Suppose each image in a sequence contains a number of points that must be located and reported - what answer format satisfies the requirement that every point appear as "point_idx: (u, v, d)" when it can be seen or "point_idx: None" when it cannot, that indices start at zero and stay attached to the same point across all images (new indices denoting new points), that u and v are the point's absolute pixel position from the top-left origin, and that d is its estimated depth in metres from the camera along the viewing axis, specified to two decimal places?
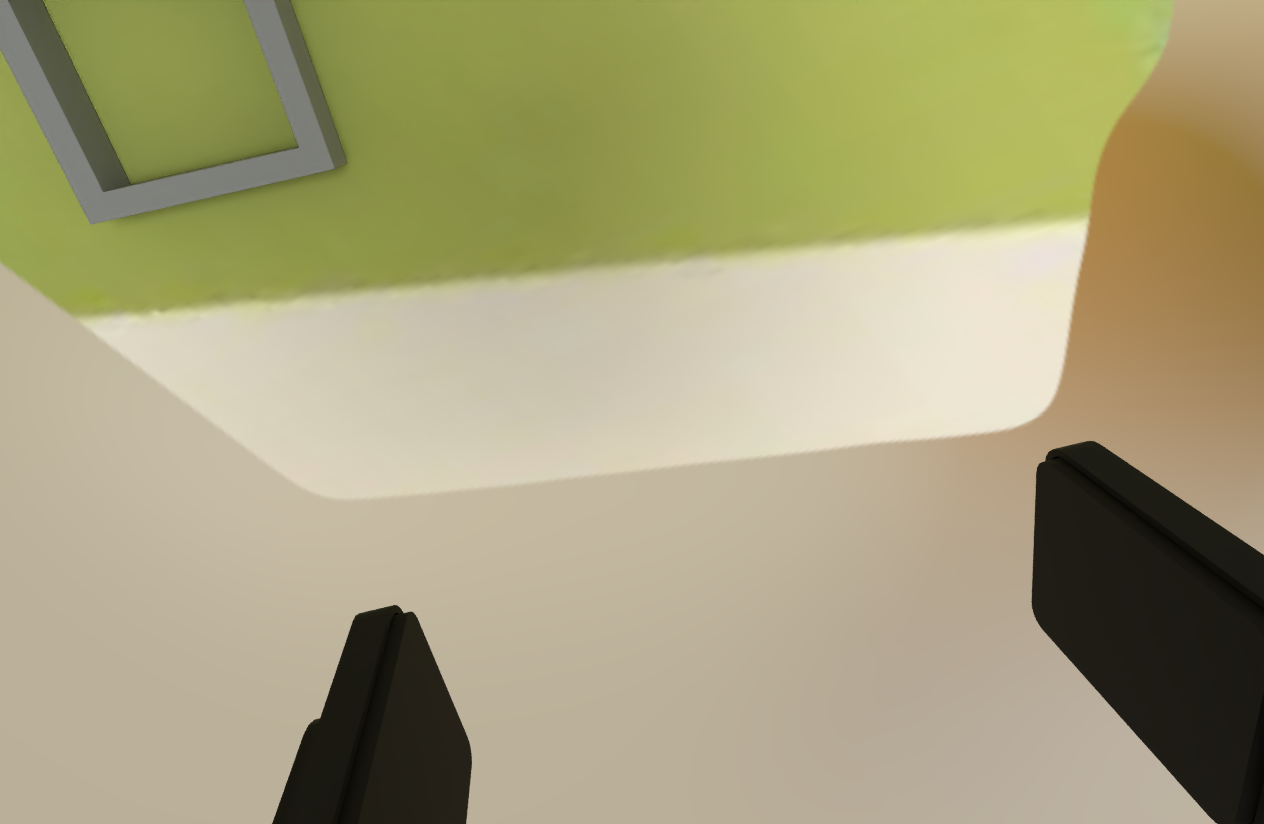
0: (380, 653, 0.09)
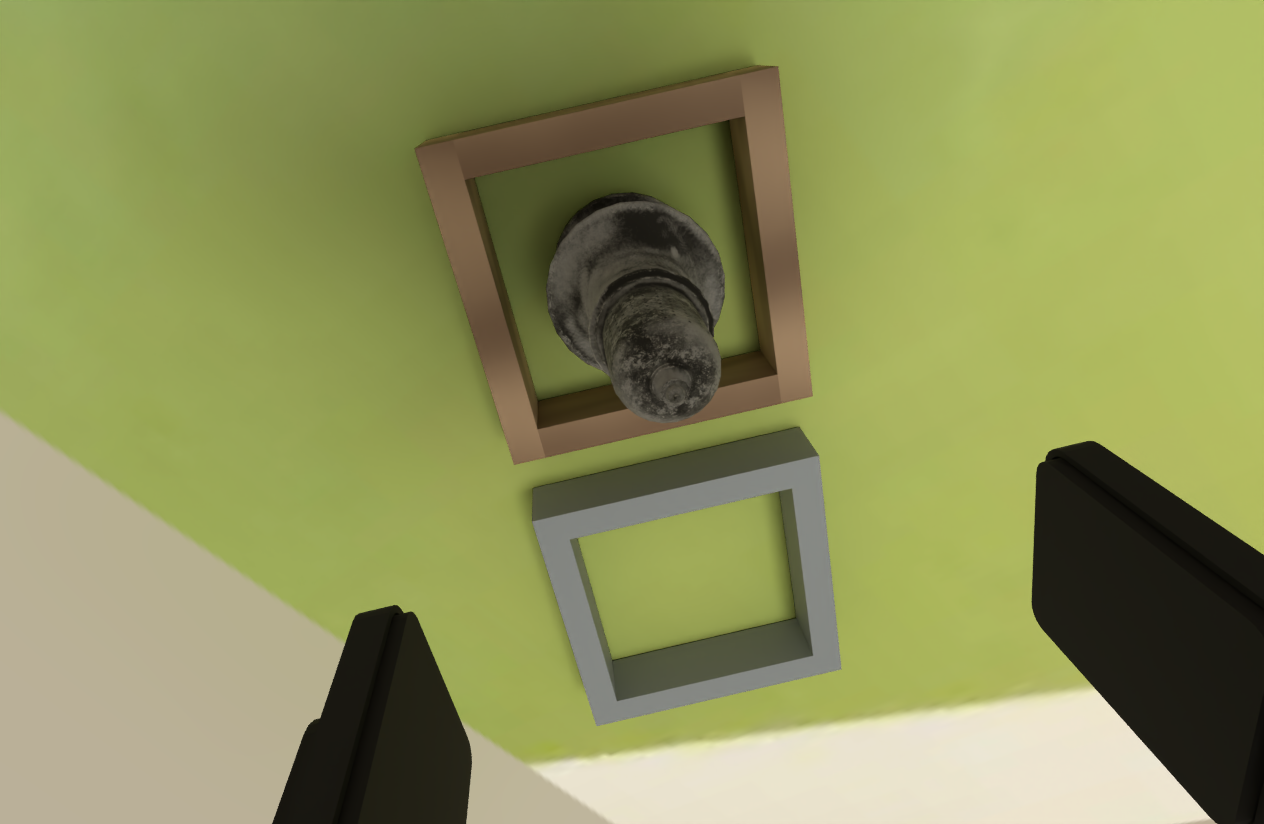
0: (380, 653, 0.09)
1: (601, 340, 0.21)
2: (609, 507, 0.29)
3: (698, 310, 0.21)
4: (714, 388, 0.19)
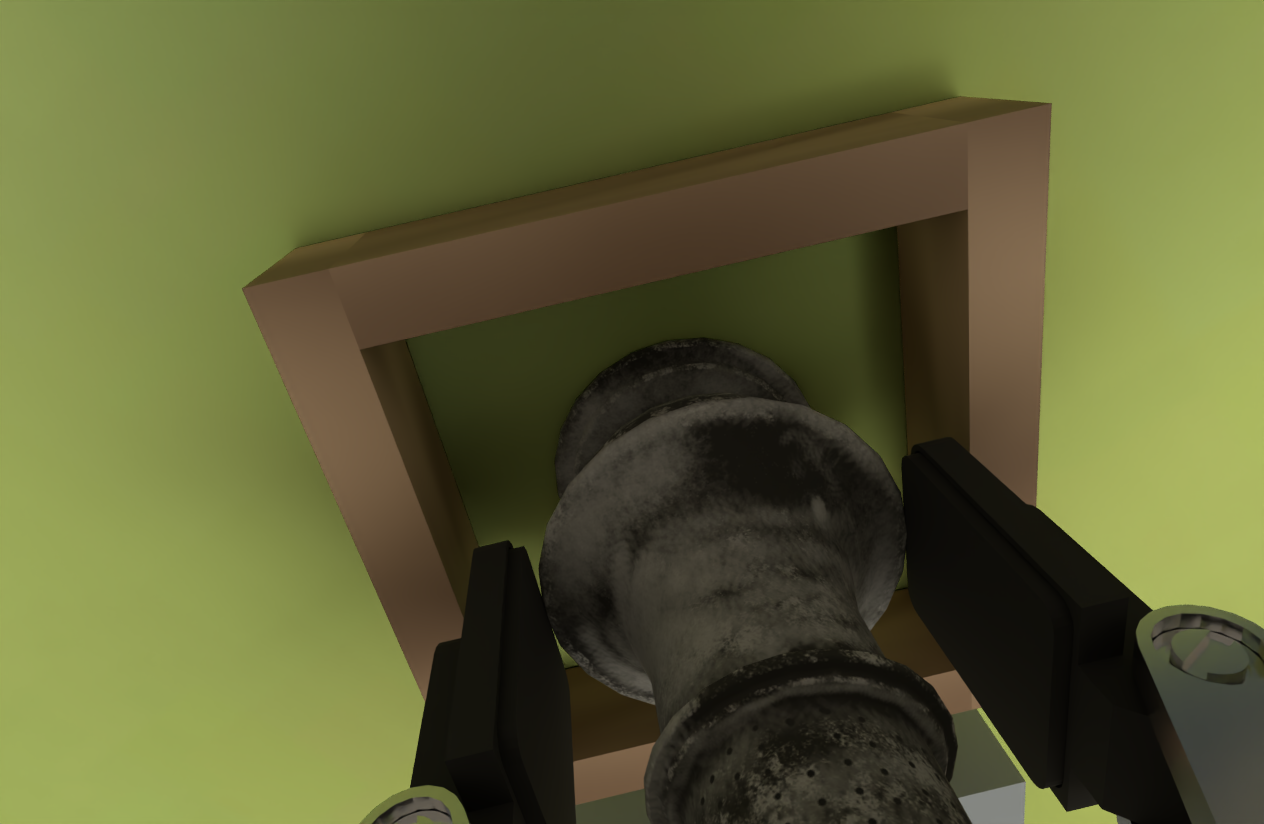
0: (505, 579, 0.10)
1: (678, 816, 0.08)
2: None
3: (930, 743, 0.08)
4: None
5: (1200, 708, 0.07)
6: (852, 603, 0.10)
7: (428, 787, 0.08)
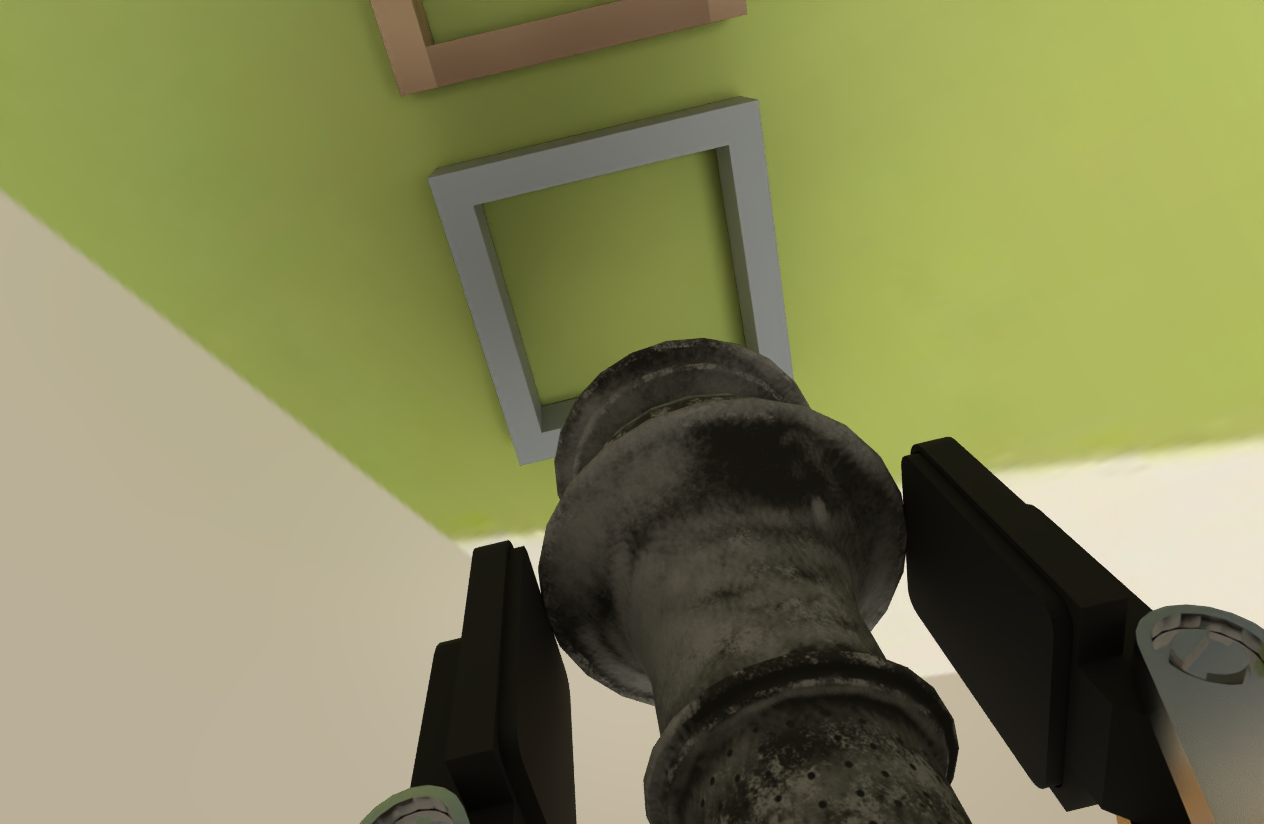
0: (505, 578, 0.10)
1: (678, 818, 0.08)
2: (516, 162, 0.25)
3: (931, 745, 0.08)
4: None
5: (1200, 708, 0.07)
6: (852, 604, 0.10)
7: (428, 787, 0.08)
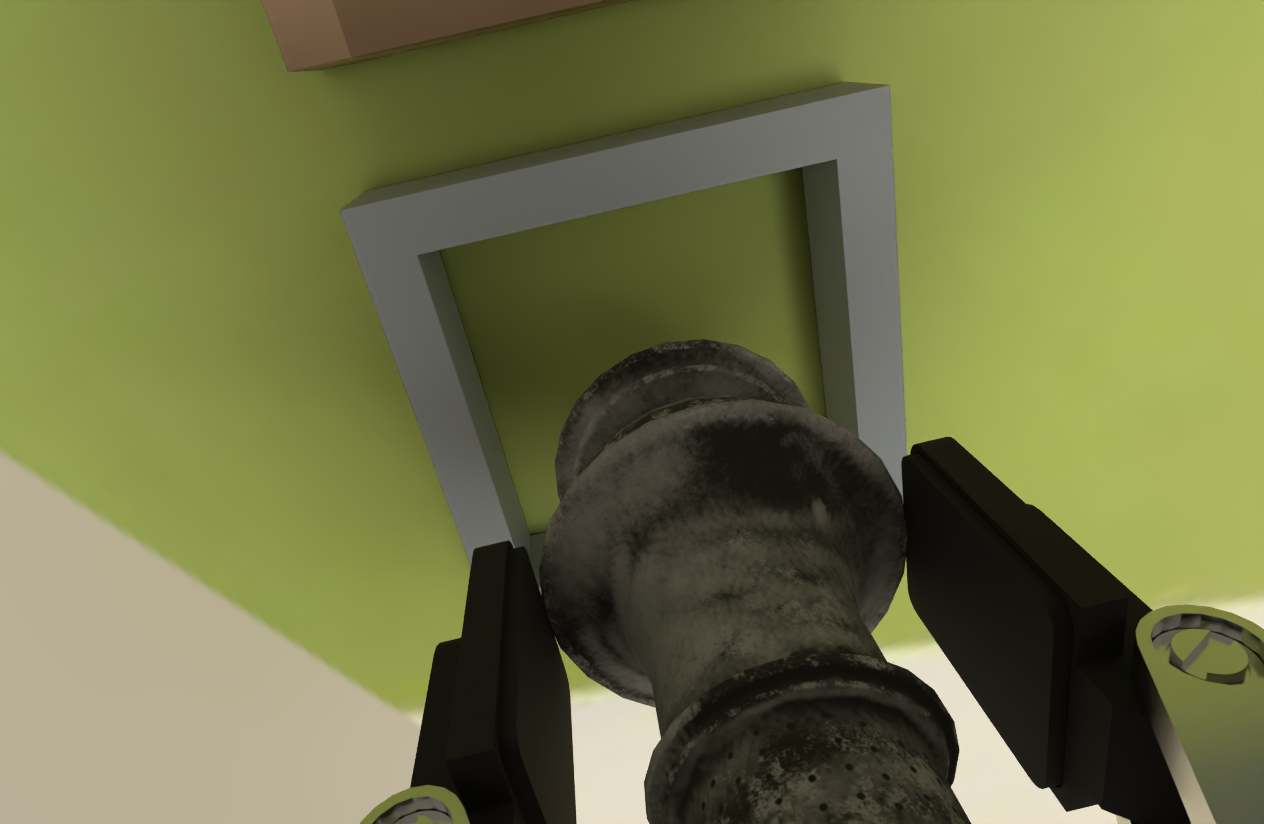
0: (505, 578, 0.10)
1: (679, 820, 0.08)
2: (488, 185, 0.15)
3: (932, 747, 0.08)
4: None
5: (1200, 708, 0.07)
6: (853, 606, 0.10)
7: (428, 787, 0.08)
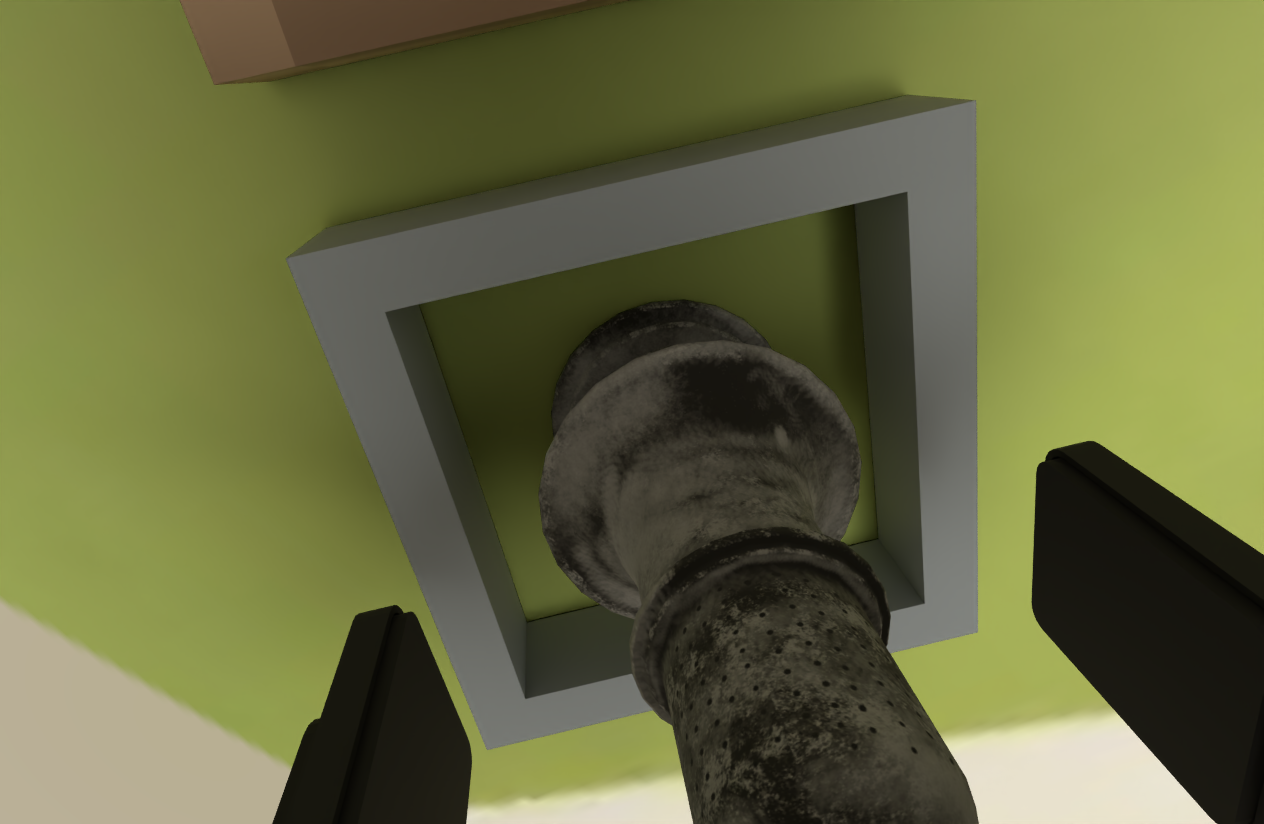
0: (380, 653, 0.09)
1: (658, 671, 0.10)
2: (473, 227, 0.12)
3: (866, 608, 0.10)
4: None
5: None
6: (807, 508, 0.11)
7: None
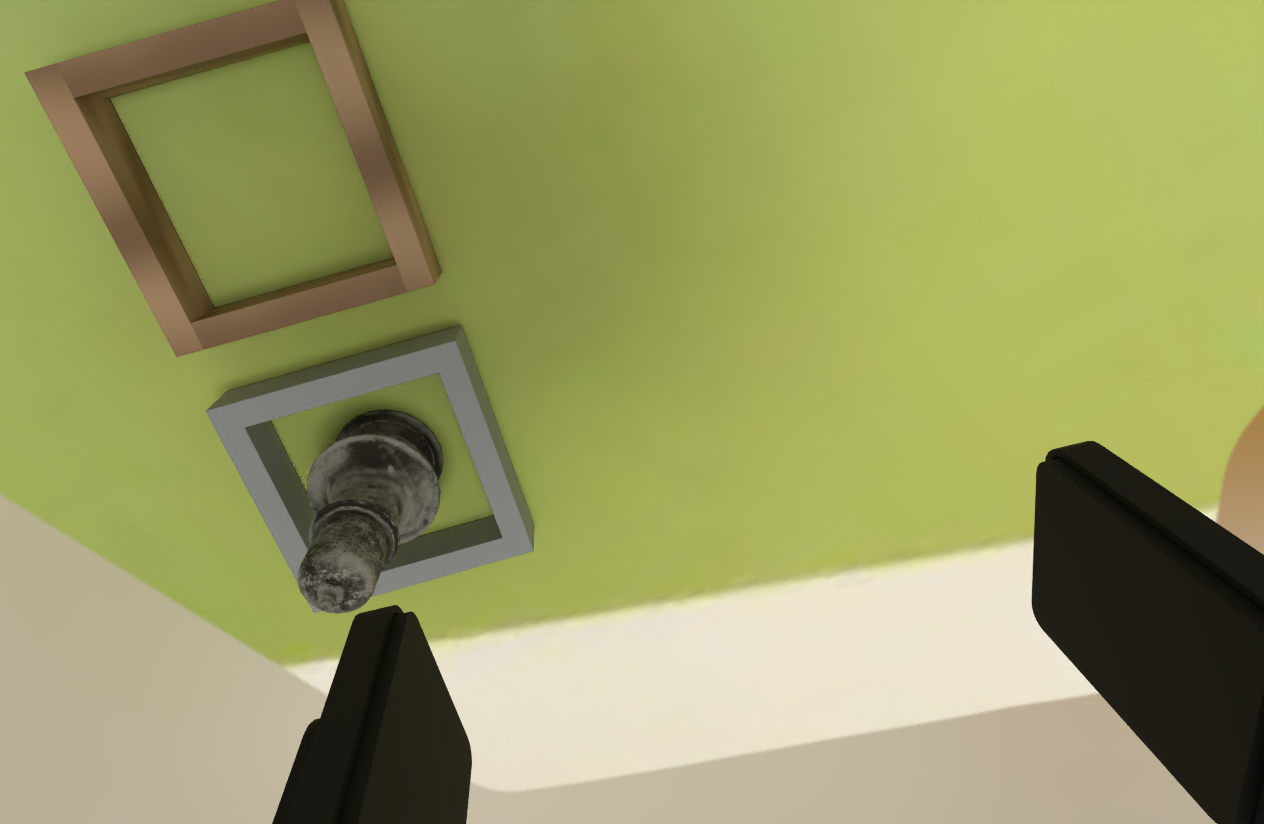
0: (380, 653, 0.09)
1: None
2: (273, 395, 0.33)
3: (382, 525, 0.30)
4: (368, 592, 0.28)
5: None
6: (385, 495, 0.32)
7: None
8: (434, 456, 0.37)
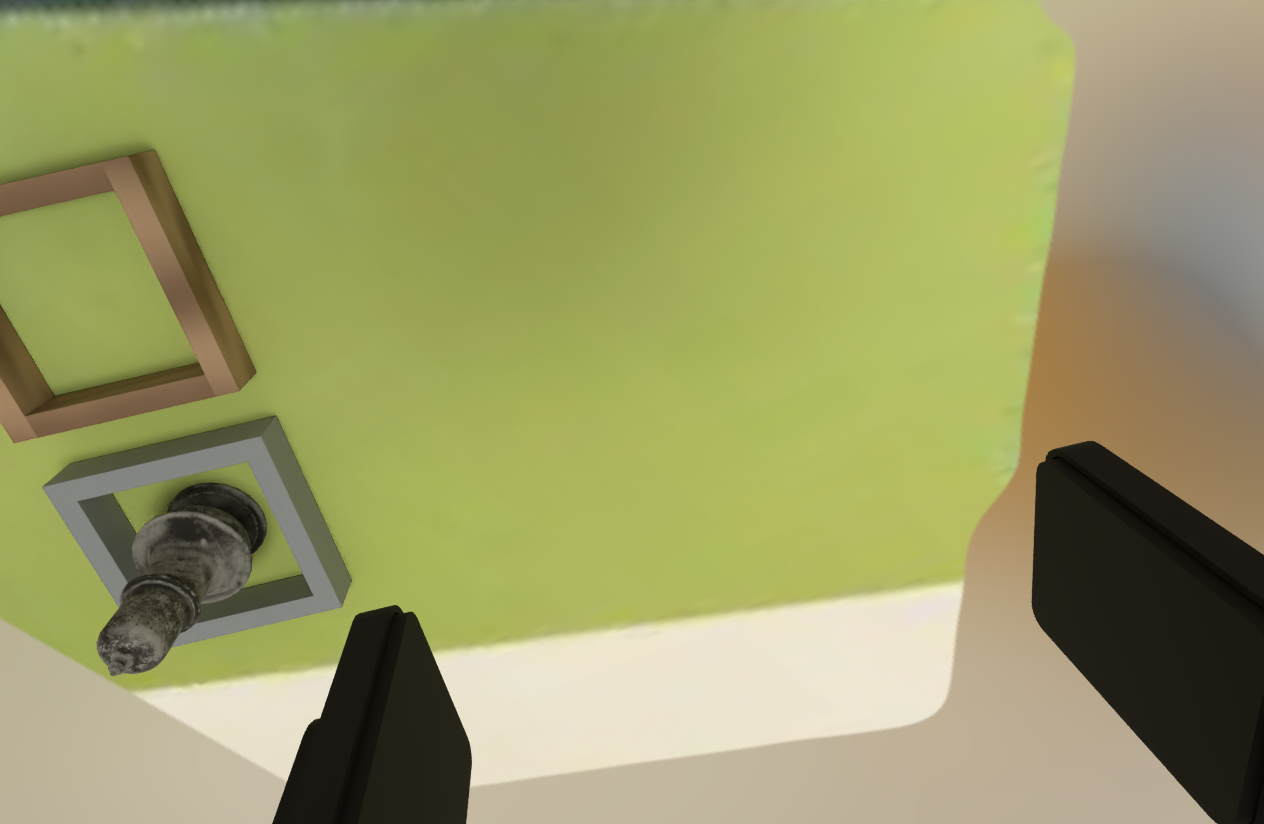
0: (380, 653, 0.09)
1: None
2: (102, 476, 0.39)
3: (182, 596, 0.36)
4: (157, 657, 0.34)
5: None
6: (193, 566, 0.38)
7: None
8: (257, 523, 0.43)
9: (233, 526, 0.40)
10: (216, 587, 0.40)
